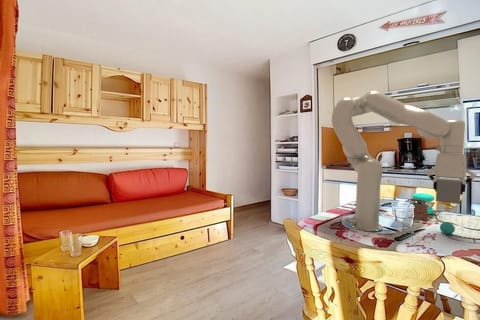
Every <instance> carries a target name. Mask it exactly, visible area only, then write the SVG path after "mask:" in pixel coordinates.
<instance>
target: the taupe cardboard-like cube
mask: <svg viewBox="0 0 480 320" xmlns="http://www.w3.org/2000/svg"><path fill="white" fill-rule="evenodd" d="M461 184H462V182H461V180H460V179H456V178H443V177H440V178H439V179H438V180H437V191H435V192H436V195H435V201H436V202H439V203H449V204H455V205H456V204H457V205H461V195H462V194H461Z"/></svg>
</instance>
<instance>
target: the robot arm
mask: <svg viewBox="0 0 480 320" xmlns="http://www.w3.org/2000/svg"><path fill="white" fill-rule="evenodd" d="M371 112H372V113H374V114H376V115H379V116H380V117H383V118H384V119H386V120H389V121H391V122H392V123H394V124H395V123H396V124H400V125H406V126H409V127H413V128H415V129H417V133H418V135H420V136H421V137H422V138H425V139H435V138H436V139H438V138H440V142H439V143H440V144H439V146H437V147H435V151H437V152H439V153H437V154H436V158H435V164H434V167H432V168H430V169H428V170H425V172H424V173H425V174H426V175H427V177H428V178H429V179H430V180H431V181H432V182H433V183H432V185H433V186H432V187H433V188H432V189H433V190H434V192H436V191H437V180H438V179H439V178H443V179H457V180H461V194H460V195H463V193H466V185H467V184H469V183H470V182H472V181H474V179H475V178H476V177H477V174H476V173H474V172H473V171H472V170H470V169H468V168H467V157H466V155H467V154H466V153H464V145H465V131H466V123H465V121H464V120H461V119H448V120H446V119H444V118H443V117H440V116H438V115H436V114H434V113H432V112H430V111H427V110H425V109H421V108H419V107H416V106H413V105H410V104H406V103H404V102H402V101H400V100H398V99H395V98H393V97H392V96H389V95H387V94H385V93H383V92H382V91H379V90H370V91H368V92H366V93H365V94H363V95H360V96H357V97H354V98H351V97H348V96H347V97H342V98H341V99H339V100H338V101H337V102H336V104H335V107H334V109H333V111H332V114H331V125H332V128H333V132H334V133H335V135H336V137H337V138H338V140H339V141H340V144H341V145H342V151H343V153H344V155H345V157H346V158H347V160H348V161H349V163H350V165H351V167H353V169H354V171H355V172H356V173H357V179H356V196H355V198H356V199H355V200H356V201H355V215H353V216H351V217H344V219H343V220H344V222H346V223H349V224H351V227H352V226H354V227H355V228H354V227H353V228H354V229H356V228H357V229H356V230H360V231H362V232H363V231H364V232H370V231H376V230H380V229H382V230H383V225H381V224H380V223H379V222H380V221H379V220H380V202H381V201H380V200H381V182H382V178H383V166H382V164H381V162H380V161H379V160H378V159H376V158H373V157H372V156H371V154H370V153H369V150H368V145H367V142H366V140H364V139H363V136H362V135H361V134H360V132H359V131H358V129H357V128H356V125H355V124H354V122H353V117H357V116H361V115H364V114H369V113H371ZM432 172H434V174H433V175H432V174H431V173H432ZM467 174H468V175H469V177H468V178H467V179H465V178H466V176H467ZM434 176H435V177H434Z"/></svg>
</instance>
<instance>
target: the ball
mask: <svg viewBox="0 0 480 320" xmlns="http://www.w3.org/2000/svg"><path fill="white" fill-rule="evenodd" d="M455 229H456V227H455V226H454V225H453V224H452V223H451V222H448V221H444V222H442V223H440V224H439V230H440V231H441V232H442V233H443V234H446V235H452V234H453V233H454V232H455V231H456V230H455Z"/></svg>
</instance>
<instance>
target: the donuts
mask: <svg viewBox="0 0 480 320" xmlns="http://www.w3.org/2000/svg"><path fill="white" fill-rule="evenodd" d="M411 196H412V197H411V198H414V199H421V200H426V202H425V203H431V202H433V201H434V200H435V196H434V195H432V194H428V193H420V192H417V193H413V194H412V195H411ZM433 213H434V209H433V207H431V206H429V205H428V211H427V215H432V214H433Z"/></svg>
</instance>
